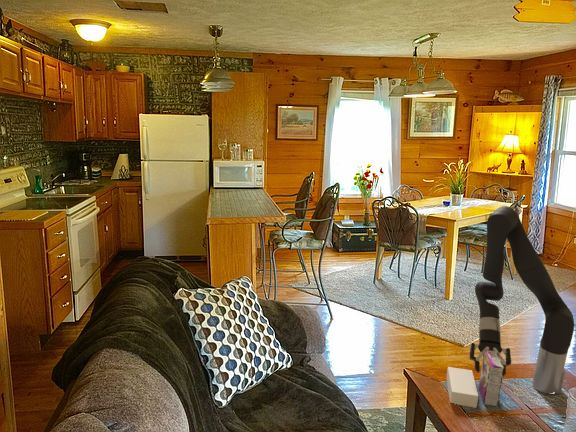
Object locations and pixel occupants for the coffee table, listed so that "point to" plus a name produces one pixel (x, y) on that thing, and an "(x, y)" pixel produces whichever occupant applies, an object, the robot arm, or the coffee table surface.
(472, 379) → the plain white box
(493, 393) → the candy bar box
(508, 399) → the coffee table surface
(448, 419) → the coffee table surface
